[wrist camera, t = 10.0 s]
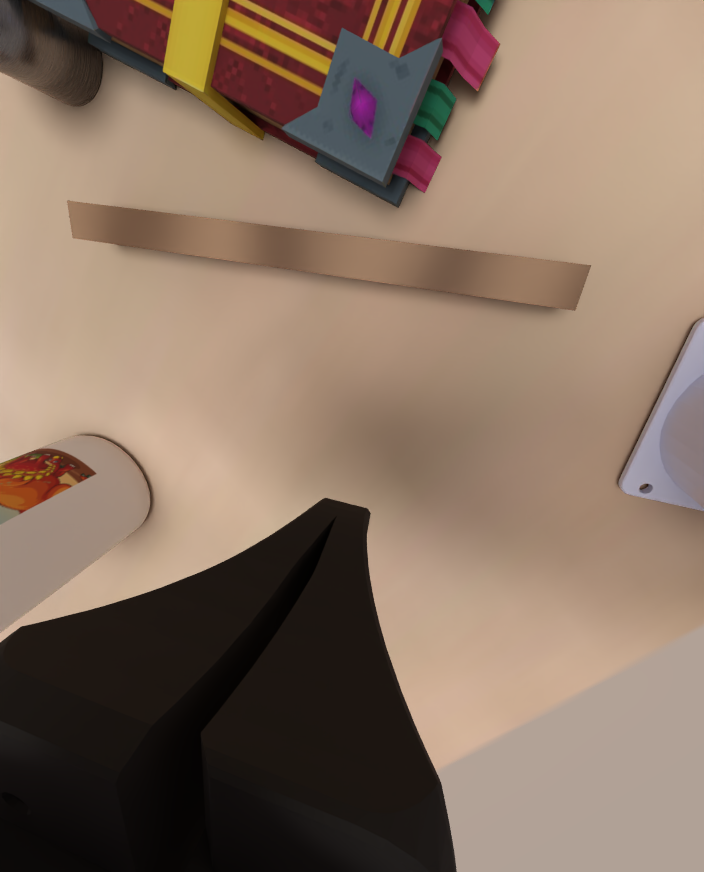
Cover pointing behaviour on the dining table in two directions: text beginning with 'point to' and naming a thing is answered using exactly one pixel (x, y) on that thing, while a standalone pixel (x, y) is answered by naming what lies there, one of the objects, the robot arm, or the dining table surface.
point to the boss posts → (48, 53)
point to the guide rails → (337, 255)
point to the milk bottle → (63, 516)
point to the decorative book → (309, 71)
